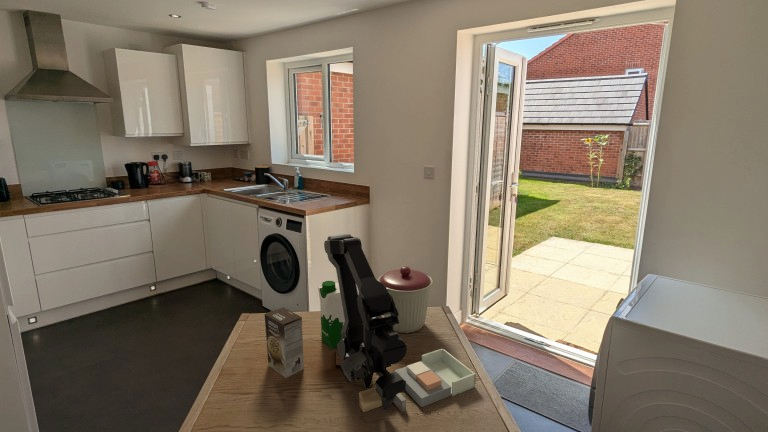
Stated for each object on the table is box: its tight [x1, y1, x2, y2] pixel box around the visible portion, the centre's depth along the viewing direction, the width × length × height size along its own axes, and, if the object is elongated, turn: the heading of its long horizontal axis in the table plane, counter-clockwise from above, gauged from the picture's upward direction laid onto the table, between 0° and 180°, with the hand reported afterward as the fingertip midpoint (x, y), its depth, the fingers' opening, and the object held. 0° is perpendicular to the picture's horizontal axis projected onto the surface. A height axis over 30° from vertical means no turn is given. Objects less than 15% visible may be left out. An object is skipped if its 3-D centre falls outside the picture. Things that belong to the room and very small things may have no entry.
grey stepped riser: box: [393, 360, 452, 408], centre depth 108 cm, size 13×9×2 cm
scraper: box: [358, 386, 407, 413], centre depth 102 cm, size 11×9×4 cm
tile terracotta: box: [417, 371, 442, 391], centre depth 106 cm, size 4×4×2 cm
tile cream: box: [405, 360, 430, 380], centre depth 110 cm, size 4×4×2 cm
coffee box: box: [263, 306, 305, 379], centre depth 115 cm, size 9×6×16 cm
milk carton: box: [317, 280, 345, 350], centre depth 128 cm, size 9×9×20 cm
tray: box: [421, 348, 476, 397], centre depth 112 cm, size 14×7×4 cm, turn 29°
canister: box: [377, 266, 434, 334], centre depth 138 cm, size 18×18×21 cm
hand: (376, 398), depth 102 cm, fingers open, 9 cm apart
